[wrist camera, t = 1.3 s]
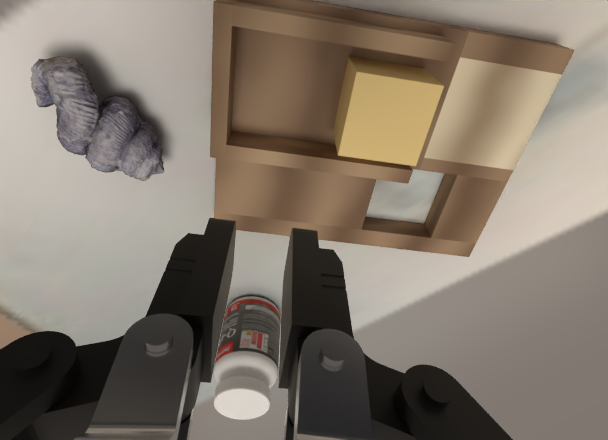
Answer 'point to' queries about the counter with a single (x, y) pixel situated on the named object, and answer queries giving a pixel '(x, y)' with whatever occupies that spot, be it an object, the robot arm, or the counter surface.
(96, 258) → the counter surface
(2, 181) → the counter surface
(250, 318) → the pill bottle
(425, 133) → the block
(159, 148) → the seashell
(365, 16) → the wooden compartment tray
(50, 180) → the counter surface
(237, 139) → the cubby
